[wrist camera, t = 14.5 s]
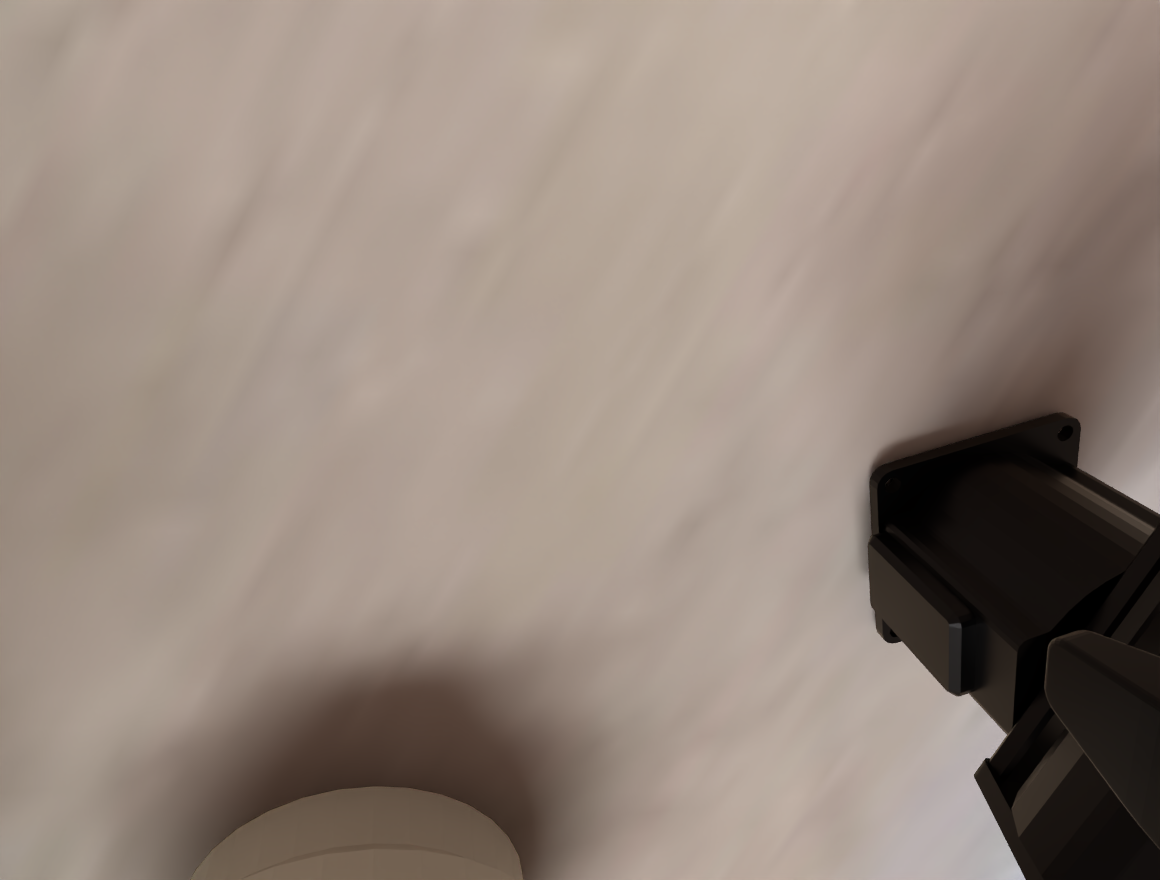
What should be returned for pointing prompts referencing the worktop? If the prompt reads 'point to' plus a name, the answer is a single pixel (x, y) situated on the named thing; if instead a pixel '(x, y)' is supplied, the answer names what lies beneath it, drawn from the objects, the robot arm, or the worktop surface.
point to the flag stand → (366, 840)
